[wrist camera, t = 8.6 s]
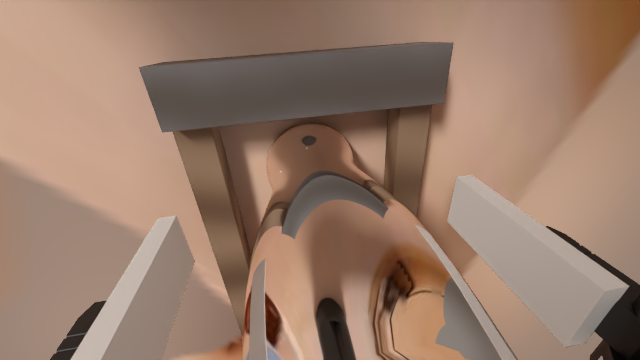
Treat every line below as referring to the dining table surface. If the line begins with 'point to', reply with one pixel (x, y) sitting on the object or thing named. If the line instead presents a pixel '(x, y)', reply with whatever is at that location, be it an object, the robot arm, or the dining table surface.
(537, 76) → the dining table surface
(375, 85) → the guide track
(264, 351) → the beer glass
